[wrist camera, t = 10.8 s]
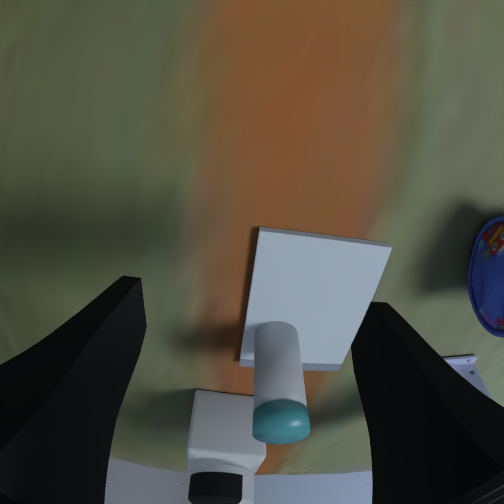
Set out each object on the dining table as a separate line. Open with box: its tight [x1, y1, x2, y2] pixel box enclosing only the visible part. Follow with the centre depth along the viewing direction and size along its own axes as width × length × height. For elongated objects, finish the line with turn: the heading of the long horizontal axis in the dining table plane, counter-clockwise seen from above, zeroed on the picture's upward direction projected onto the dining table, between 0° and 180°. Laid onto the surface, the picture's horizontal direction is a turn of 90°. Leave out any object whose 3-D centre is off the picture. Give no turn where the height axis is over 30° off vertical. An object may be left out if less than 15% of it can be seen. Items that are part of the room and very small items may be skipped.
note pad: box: [239, 227, 392, 371], centre depth 23 cm, size 9×13×1 cm
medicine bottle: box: [187, 389, 266, 504], centre depth 25 cm, size 7×7×12 cm
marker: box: [252, 321, 310, 444], centre depth 20 cm, size 4×4×8 cm
